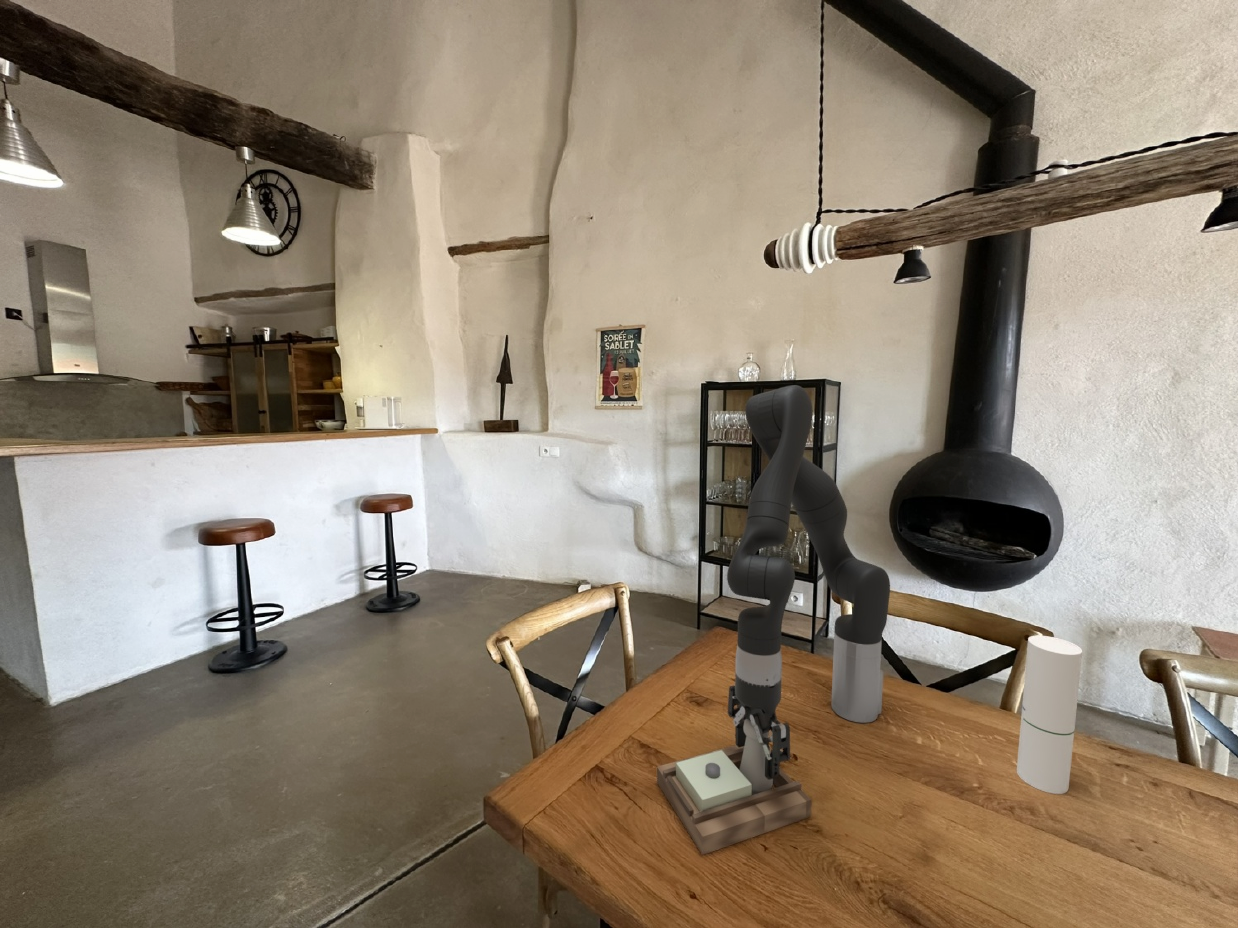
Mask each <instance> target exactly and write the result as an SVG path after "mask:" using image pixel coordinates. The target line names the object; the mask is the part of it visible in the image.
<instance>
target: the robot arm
mask: <svg viewBox="0 0 1238 928" xmlns="http://www.w3.org/2000/svg"><path fill="white" fill-rule="evenodd" d="M744 409H745V419H746V422H747V424H748V427H749V430H750V432H751V434H752V435H753V437H754V439H755V441H756V442H757V444H758V445H759V447H760V448H761V450H762V452H763V453H764V454H765V456H766V457H767V459H768V461H769V462H768V464H767V465H766V467H765V468H764V469H763V470H762V473H761V474H760V475H759V477H758V479H757V481H756V482H755V484H754V486H753V488H752V490H751V493H750V497H749V501H748V507H747V515H746V521H745V527H744V531H743V533H742V536H741V538H740V541H739V544H738V546H737V548H736V550H735V553H734V554H733V555H732V558H731V560H730V563H729V566H728V569H727V572H726V573H727V575H726V578H727V579H726V580H727V584H728V587H729V589H730V591H731V592H732V593H733V594H734V595H738V596H741V597H746V598H753V599H758V600H765V601H769V604H768V605H764V606H754V607H753V606H752V607H748V608H747V607H746V608H744V609H742V610H741V611H740V612H739V614H738V618H737V644H736V651H735V666H734V667H735V672H734V673H735V677H734V685H730V686H729V687H728V699H727V700H728V702H727V714H728V717H729V718H732V719H733V720H732V723H733V726H735V729H734V730H735V732H734V734H735V735H734V736H735V737H734V738H735V744H734V745H737V746H738V747H743V746H745V741H746V734H745V733H744V729H743V726H744V721H745V719H749V720H750V721H751V723H752V725H753V726H754V728H755V731H756V735H757V738H758V741H759V743H760V744H762V745H763V748H764V751H765V754H766V757H765V777H766V778H767V779H768V780H770V779H773V778H776V777H778V776H779V767H780V765H781V763H782V762H785V761H790V760H791V735H790V734H791V731H790V729H791V728H790V725H789V724H788V723H787V722H783V723H781V722H780V721H779V720H778V717H777V712H776V709H777V707H778V705H779V704H780V702H781V700H782V675H783V674H782V673H783V672H782V671H783V668H782V667H783V660H782V649H781V648H782V627H783V626H782V625H783V618H784V614H785V611H786V607H787V604H788V602H789V599H790V596H791V594H792V591H793V589H794V588H793V587H794V584H795V579H796V574H795V569H794V568H793V567H794V566H792V563H790V561H789V560H788V559H786V558H784V557H780V556H779V557H778V556H769V555H762V554H761V555H760V554H757V552H758V551H759V550H760V549H761V550H762V549H763V548H767V547H776V546H780V545H783V544H784V543H786V541H787V539H788V535H789V526H790V518H791V517H790V516H791V511H792V510H791V508H792V507H793V508H794V510H795V513H796V515H797V516H798V518H799V520H800V522H801V524H802V525H803V527H804V530H805V532H806V534H807V536H808V538H809V541H810V542H811V544H812V545H813V548H814V550H815V552H816V555H817V557H818V560H819V562H820V566H821V569H822V571H823V574H824V577H825V579H826V582H827V585H828V587H829V589H830V590H831V592H832V593H833V594H834V595H835V596H837V597H838V598H839V599H841V600H843V601H846V602H848V603H850V604H853V605H852V606H853V607H852V614H851V613H848V614H842V615H839V616H838V617H837V618H836V619H835V621H834V633H833V658H832V662H833V663H832V683H831V686H832V687H831V707H830V708H831V709H832V710H833V712H834V713H835V714H836V715H838V716H839V717H840V718H843V719H845V720H847V721H851V722H855V723H860V724H864V723H865V724H867V723H872V722H874V721H876V719H878V715H882V707H883V690H884V689H883V688H884V670H882V669H881V662H882V661H881V658H882V642H883V641H882V640H883V632H884V629H885V628H886V625H887V621H888V611H889V606H890V605H889V603H890V602H889V601H890V594H891V582H890V578H889V575H888V572H887V571H886V570H885V569H884V568H882V567H880V566H878V565H875V564H873V563H872V564H871V563H870V562H867V561H863V560H860V559H858V558H857V557H856V556H855V555H854V554H853V553H852V550H851V549H850V547H849V546H848V543H847V541H846V538H845V534H844V533H845V529H846V526H847V520H848V509H847V506H846V503H845V500H844V499H843V496H842V494H841V491H840V489H839V488H838V486H837V483H836V482H835V481H834V479H833V478H832V477H831V476H830V475H829V474H828V473H826V472H825V471H824V470H823V469H822V468H820V467H819V466H817V465H816V464H815V463H814V462H811V460H809V459H807V458H806V457H804V452H805V449H806V447H807V443H808V439H809V436H810V435H809V434H810V431H811V428H812V423H813V415H814V411H813V410H814V409H813V403H812V400H811V398H810V395H809V393H808V392H807V391H806V389H804V388H803V387H802V386H800V385H797V384H796V385H795V384H794V385H793V384H792V385H786V386H782V387H779V388H776V389H773V390H769V391H764V392H761V393H758V394H755V395H753V396H750V397H749V399H748V400H747V401H746V404H745V408H744ZM770 731H771V732H770ZM767 732H769V733H770V736H768V737H766V738H765V737H764V736H763V734H764V733H767ZM770 743H772V750H771V748H770V745H769V744H770ZM780 768H781V767H780Z"/></svg>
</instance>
